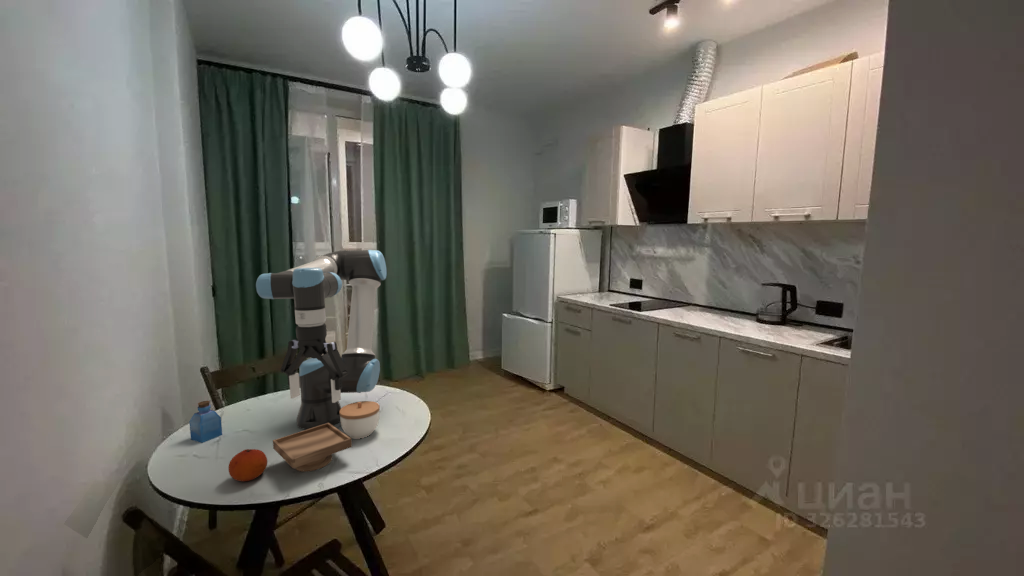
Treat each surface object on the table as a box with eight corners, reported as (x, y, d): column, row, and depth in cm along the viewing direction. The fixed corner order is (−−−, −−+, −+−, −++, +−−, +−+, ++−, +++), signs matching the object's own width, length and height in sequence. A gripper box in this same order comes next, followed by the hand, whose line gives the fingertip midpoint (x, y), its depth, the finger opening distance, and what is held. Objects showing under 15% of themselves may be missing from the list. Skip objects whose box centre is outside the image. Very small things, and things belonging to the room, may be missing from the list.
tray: (274, 463, 119) (272, 440, 118) (329, 443, 130) (328, 422, 129) (294, 484, 108) (292, 459, 107) (352, 461, 119) (351, 438, 118)
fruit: (274, 474, 113) (272, 446, 112) (239, 490, 105) (237, 461, 105) (258, 465, 118) (256, 438, 117) (223, 480, 110) (221, 452, 109)
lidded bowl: (357, 446, 128) (355, 412, 127) (332, 437, 135) (330, 404, 134) (388, 431, 139) (387, 399, 138) (364, 422, 145) (363, 393, 144)
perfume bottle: (222, 435, 137) (219, 400, 136) (201, 443, 131) (198, 407, 130) (211, 431, 139) (208, 397, 138) (190, 439, 134) (187, 404, 133)
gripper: (262, 324, 111) (268, 399, 113) (341, 328, 105) (345, 408, 107) (284, 319, 118) (289, 390, 120) (359, 323, 112) (362, 397, 114)
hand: (315, 398), depth 114 cm, fingers open, 13 cm apart
